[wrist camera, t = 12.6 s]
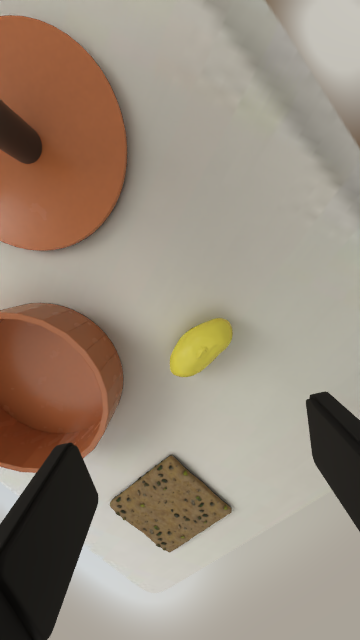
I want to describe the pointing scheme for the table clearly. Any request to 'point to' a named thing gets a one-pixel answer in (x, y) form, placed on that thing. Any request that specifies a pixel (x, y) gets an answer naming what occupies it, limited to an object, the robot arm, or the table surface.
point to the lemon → (200, 347)
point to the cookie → (169, 505)
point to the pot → (53, 383)
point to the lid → (55, 138)
